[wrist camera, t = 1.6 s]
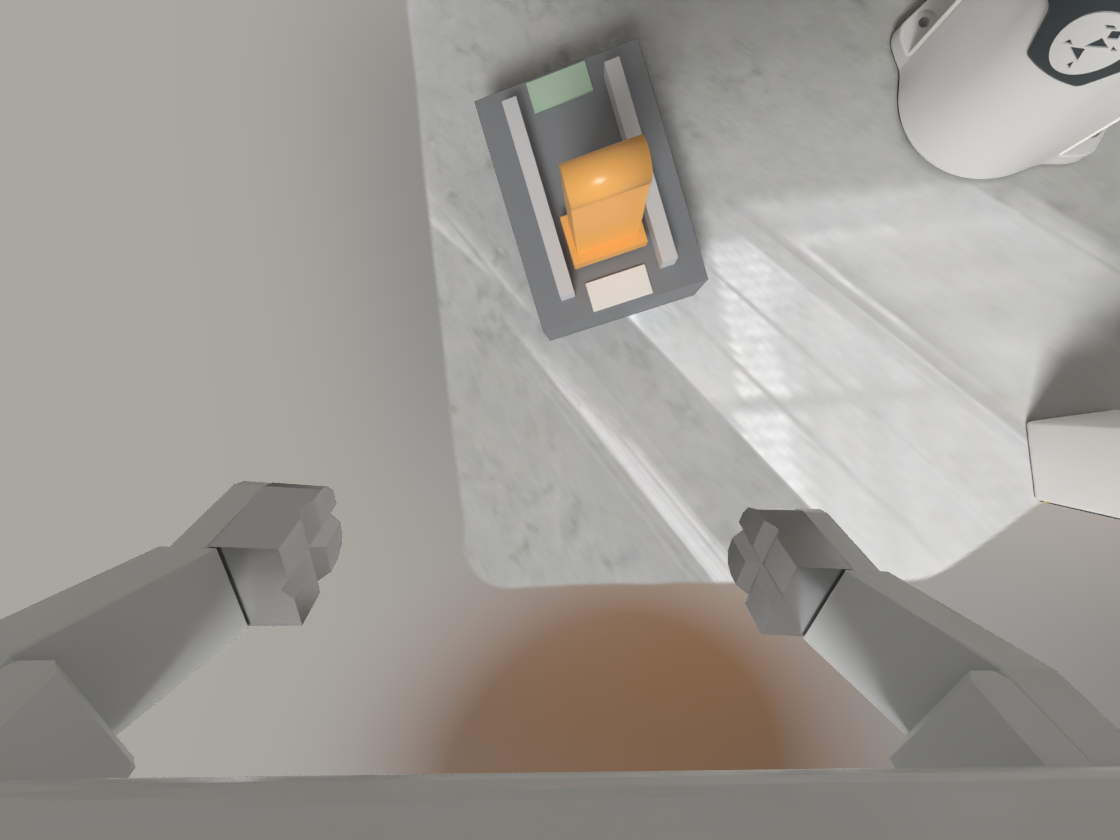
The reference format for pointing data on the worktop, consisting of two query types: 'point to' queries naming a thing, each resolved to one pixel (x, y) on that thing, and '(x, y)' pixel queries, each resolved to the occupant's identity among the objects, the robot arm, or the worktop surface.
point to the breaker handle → (606, 200)
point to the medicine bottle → (1077, 461)
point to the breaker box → (538, 201)
